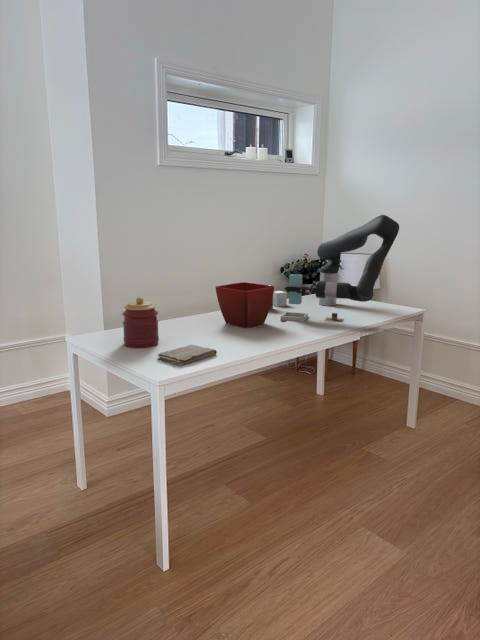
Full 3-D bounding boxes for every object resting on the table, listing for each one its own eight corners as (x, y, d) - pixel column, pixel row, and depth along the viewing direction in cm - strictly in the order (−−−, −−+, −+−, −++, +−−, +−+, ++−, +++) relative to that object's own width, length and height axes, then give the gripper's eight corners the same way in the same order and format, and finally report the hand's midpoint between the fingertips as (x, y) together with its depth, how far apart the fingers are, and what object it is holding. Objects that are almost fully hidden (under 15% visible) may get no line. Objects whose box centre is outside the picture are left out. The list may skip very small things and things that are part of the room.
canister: (127, 350, 170) (125, 301, 167) (120, 341, 182) (118, 295, 178) (162, 346, 175) (161, 299, 172) (154, 337, 187) (153, 293, 183)
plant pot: (214, 323, 212) (214, 286, 208) (243, 317, 226) (243, 281, 222) (246, 331, 199) (246, 291, 196) (274, 323, 213) (275, 286, 209)
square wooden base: (326, 318, 223) (327, 311, 223) (344, 320, 221) (344, 312, 220) (324, 322, 216) (324, 314, 215) (342, 323, 214) (342, 315, 213)
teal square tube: (291, 301, 223) (291, 274, 220) (301, 302, 221) (302, 274, 218) (288, 303, 218) (289, 275, 215) (299, 304, 216) (300, 275, 214)
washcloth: (155, 361, 159) (154, 352, 159) (192, 349, 173) (192, 341, 172) (180, 368, 152) (180, 359, 152) (217, 356, 166) (217, 347, 165)
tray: (285, 316, 228) (285, 311, 227) (307, 318, 225) (307, 313, 224) (280, 320, 218) (280, 316, 218) (303, 322, 215) (303, 317, 214)
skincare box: (286, 306, 253) (287, 292, 252) (276, 306, 251) (277, 293, 249) (280, 304, 259) (281, 290, 257) (271, 304, 256) (271, 291, 254)
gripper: (329, 279, 219) (293, 278, 225) (324, 283, 206) (286, 281, 211) (329, 295, 221) (292, 293, 226) (324, 300, 208) (286, 298, 213)
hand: (290, 288), depth 219 cm, fingers closed on teal square tube, 5 cm apart
